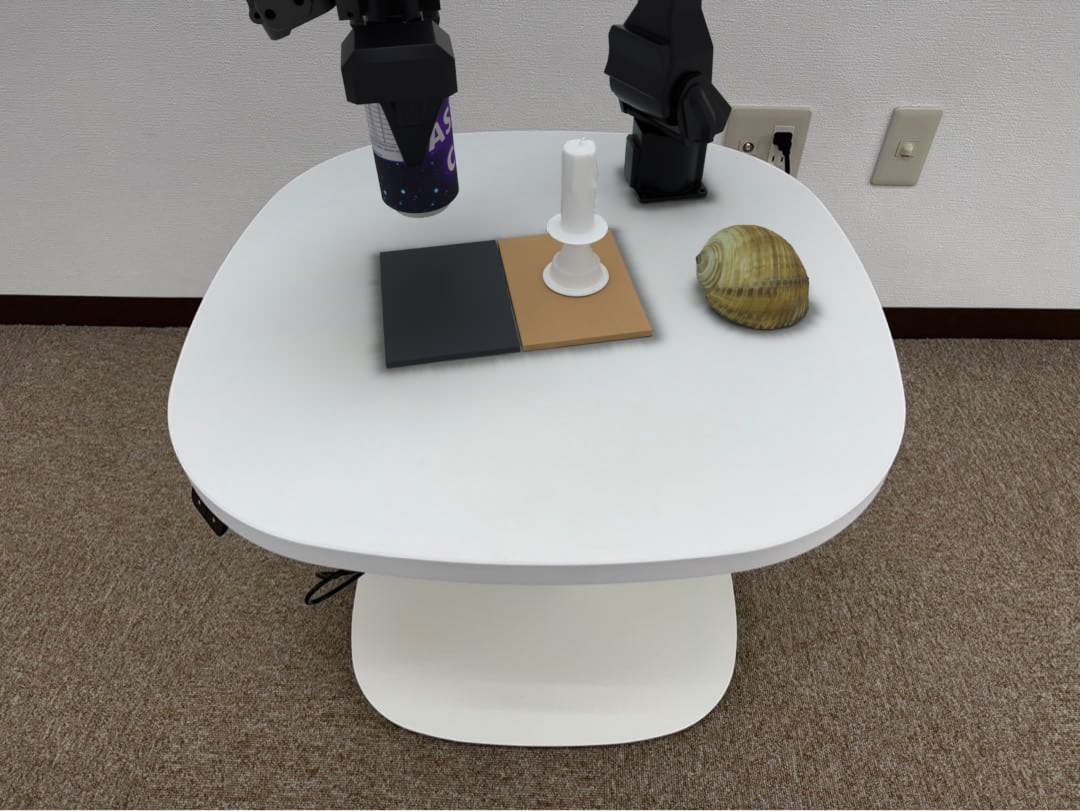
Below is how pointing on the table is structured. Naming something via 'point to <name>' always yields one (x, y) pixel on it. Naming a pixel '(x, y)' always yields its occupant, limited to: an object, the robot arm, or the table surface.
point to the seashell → (753, 277)
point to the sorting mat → (498, 301)
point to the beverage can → (415, 167)
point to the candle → (577, 225)
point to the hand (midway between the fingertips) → (411, 143)
